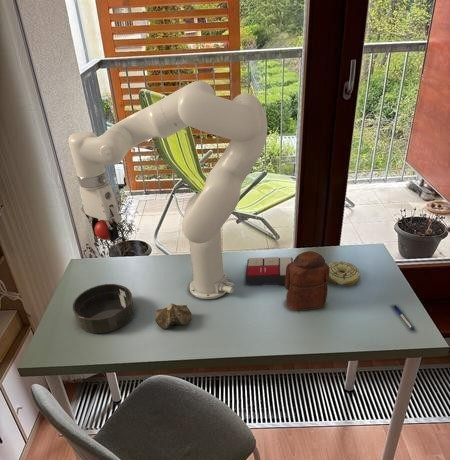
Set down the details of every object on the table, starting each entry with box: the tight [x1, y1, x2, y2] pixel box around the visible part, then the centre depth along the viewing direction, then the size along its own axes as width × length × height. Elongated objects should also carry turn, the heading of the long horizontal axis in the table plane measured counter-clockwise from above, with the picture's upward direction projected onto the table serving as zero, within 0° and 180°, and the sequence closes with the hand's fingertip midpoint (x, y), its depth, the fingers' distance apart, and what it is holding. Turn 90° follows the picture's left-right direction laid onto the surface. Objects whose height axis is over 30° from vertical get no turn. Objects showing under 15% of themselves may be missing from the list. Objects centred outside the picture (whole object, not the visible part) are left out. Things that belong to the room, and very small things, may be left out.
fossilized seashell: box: [154, 303, 193, 329], centre depth 124 cm, size 8×7×10 cm
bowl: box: [72, 283, 136, 334], centre depth 128 cm, size 17×17×6 cm
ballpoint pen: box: [393, 305, 414, 331], centre depth 122 cm, size 10×1×1 cm, turn 11°
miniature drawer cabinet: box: [245, 256, 294, 286], centre depth 141 cm, size 11×4×15 cm
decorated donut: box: [327, 260, 361, 287], centre depth 138 cm, size 10×11×4 cm
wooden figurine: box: [284, 250, 330, 312], centre depth 124 cm, size 12×6×18 cm, turn 97°
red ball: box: [95, 219, 112, 241], centre depth 128 cm, size 6×6×6 cm
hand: (106, 236), depth 129 cm, fingers closed on red ball, 6 cm apart
